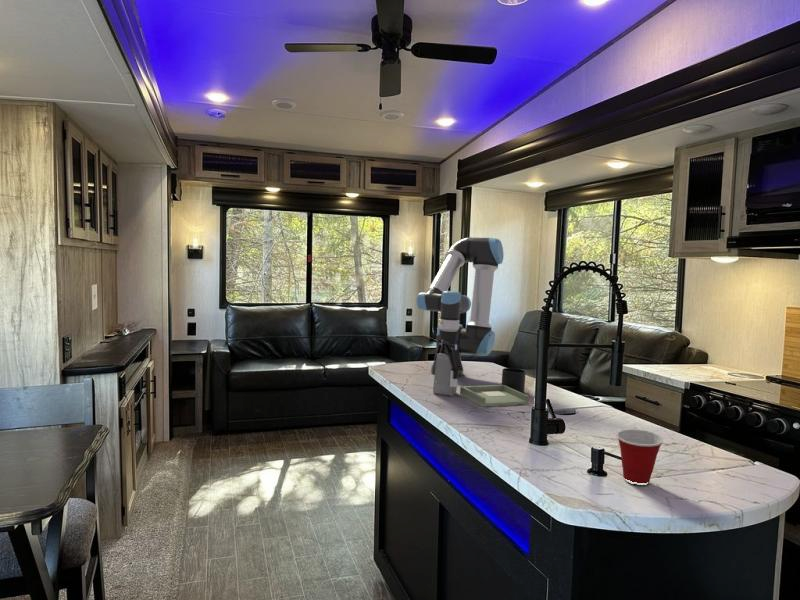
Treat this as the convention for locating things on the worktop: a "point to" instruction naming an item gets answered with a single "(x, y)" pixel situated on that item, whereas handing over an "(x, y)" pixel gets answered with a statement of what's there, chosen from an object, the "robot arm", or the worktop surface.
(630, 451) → the plastic cup
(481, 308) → the robot arm
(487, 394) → the sage green tray
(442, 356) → the skincare box
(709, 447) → the worktop surface
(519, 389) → the mug
